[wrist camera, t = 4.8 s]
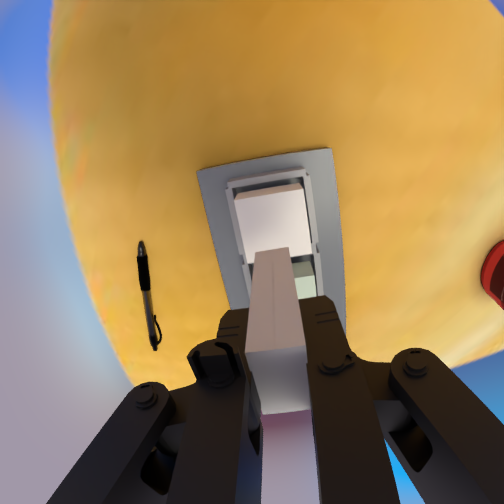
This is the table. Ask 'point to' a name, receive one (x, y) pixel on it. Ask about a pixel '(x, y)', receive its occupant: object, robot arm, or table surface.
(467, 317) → the table surface
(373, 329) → the table surface
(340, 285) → the keypad
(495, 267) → the canned food
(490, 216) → the table surface
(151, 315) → the pen
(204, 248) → the table surface
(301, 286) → the key green
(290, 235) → the key ivory
